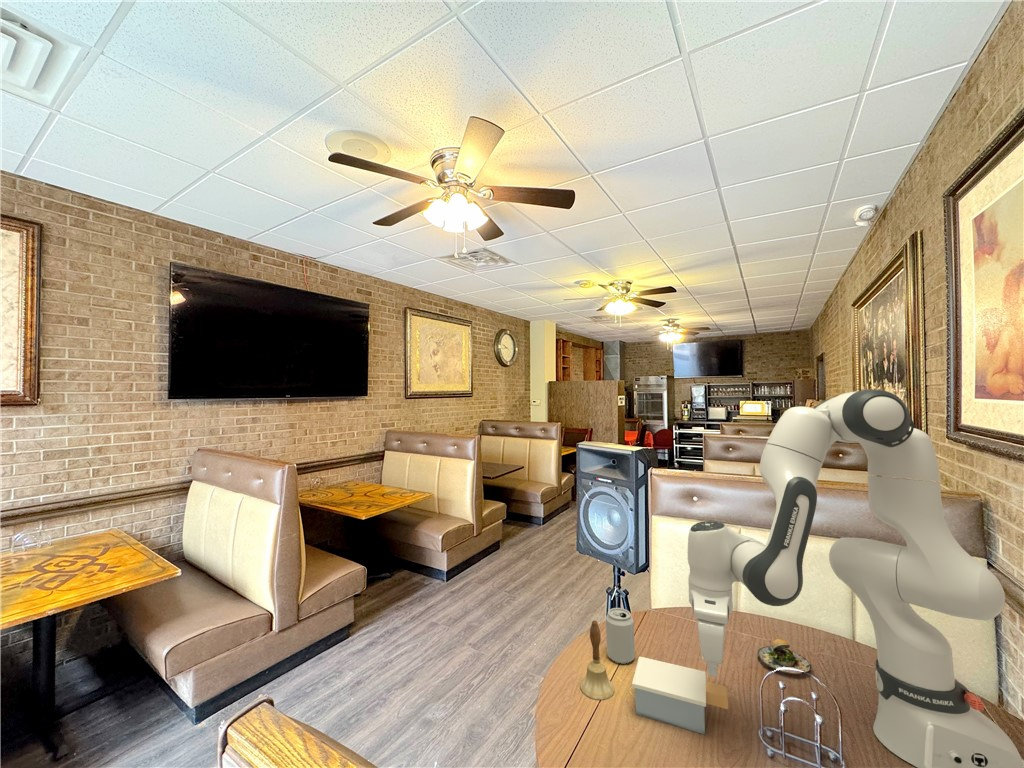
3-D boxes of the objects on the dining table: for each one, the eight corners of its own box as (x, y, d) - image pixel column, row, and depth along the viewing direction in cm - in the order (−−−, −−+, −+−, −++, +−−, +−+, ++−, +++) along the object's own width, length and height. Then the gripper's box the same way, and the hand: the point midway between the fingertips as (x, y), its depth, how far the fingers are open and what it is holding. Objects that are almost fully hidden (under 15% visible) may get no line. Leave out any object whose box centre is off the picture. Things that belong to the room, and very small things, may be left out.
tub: (704, 703, 93) (703, 676, 94) (704, 734, 84) (703, 704, 85) (642, 686, 99) (641, 661, 100) (635, 714, 90) (634, 686, 91)
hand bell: (617, 701, 95) (614, 630, 96) (581, 699, 95) (579, 629, 97) (611, 677, 103) (609, 613, 104) (579, 676, 104) (577, 612, 105)
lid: (726, 688, 92) (725, 676, 92) (729, 721, 82) (728, 708, 82) (639, 666, 100) (639, 656, 101) (632, 695, 90) (632, 683, 91)
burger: (760, 673, 104) (758, 643, 105) (755, 648, 115) (753, 621, 115) (817, 685, 99) (815, 653, 99) (806, 658, 110) (804, 630, 110)
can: (636, 667, 107) (634, 620, 108) (607, 664, 108) (605, 618, 109) (633, 650, 114) (632, 607, 115) (606, 648, 116) (605, 605, 117)
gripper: (695, 578, 101) (697, 636, 99) (693, 613, 82) (695, 684, 81) (724, 582, 98) (726, 642, 97) (728, 620, 80) (731, 694, 78)
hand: (712, 662), depth 89 cm, fingers open, 8 cm apart
